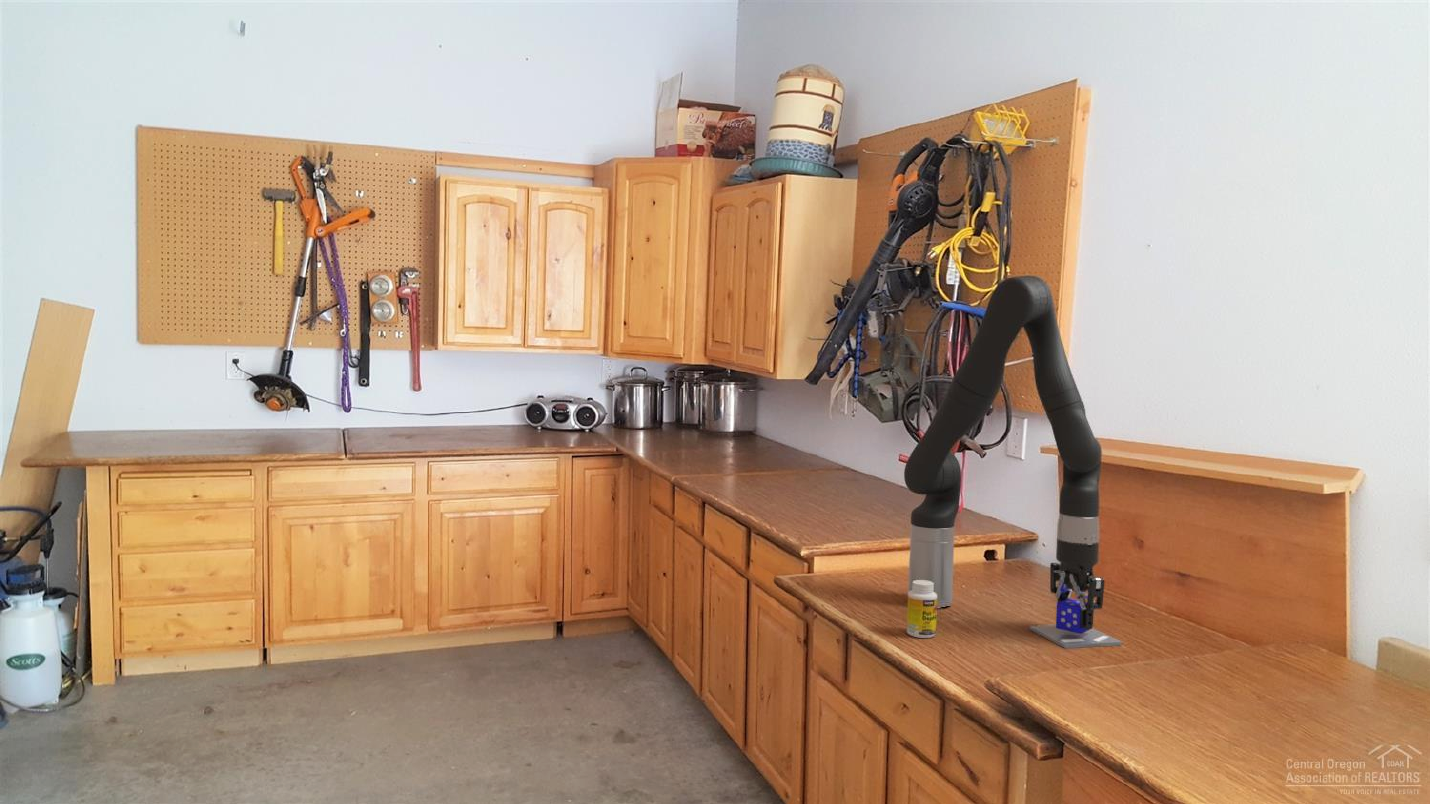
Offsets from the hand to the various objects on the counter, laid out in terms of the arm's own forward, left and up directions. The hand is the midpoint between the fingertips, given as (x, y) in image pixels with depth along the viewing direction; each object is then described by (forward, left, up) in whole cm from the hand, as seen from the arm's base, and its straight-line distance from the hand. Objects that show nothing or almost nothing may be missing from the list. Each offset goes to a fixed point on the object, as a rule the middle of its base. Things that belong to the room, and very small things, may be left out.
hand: (1074, 623), depth 174 cm
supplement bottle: (-6, -29, -3) cm, 30 cm away
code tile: (0, 0, -3) cm, 3 cm away
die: (0, 0, -1) cm, 1 cm away
